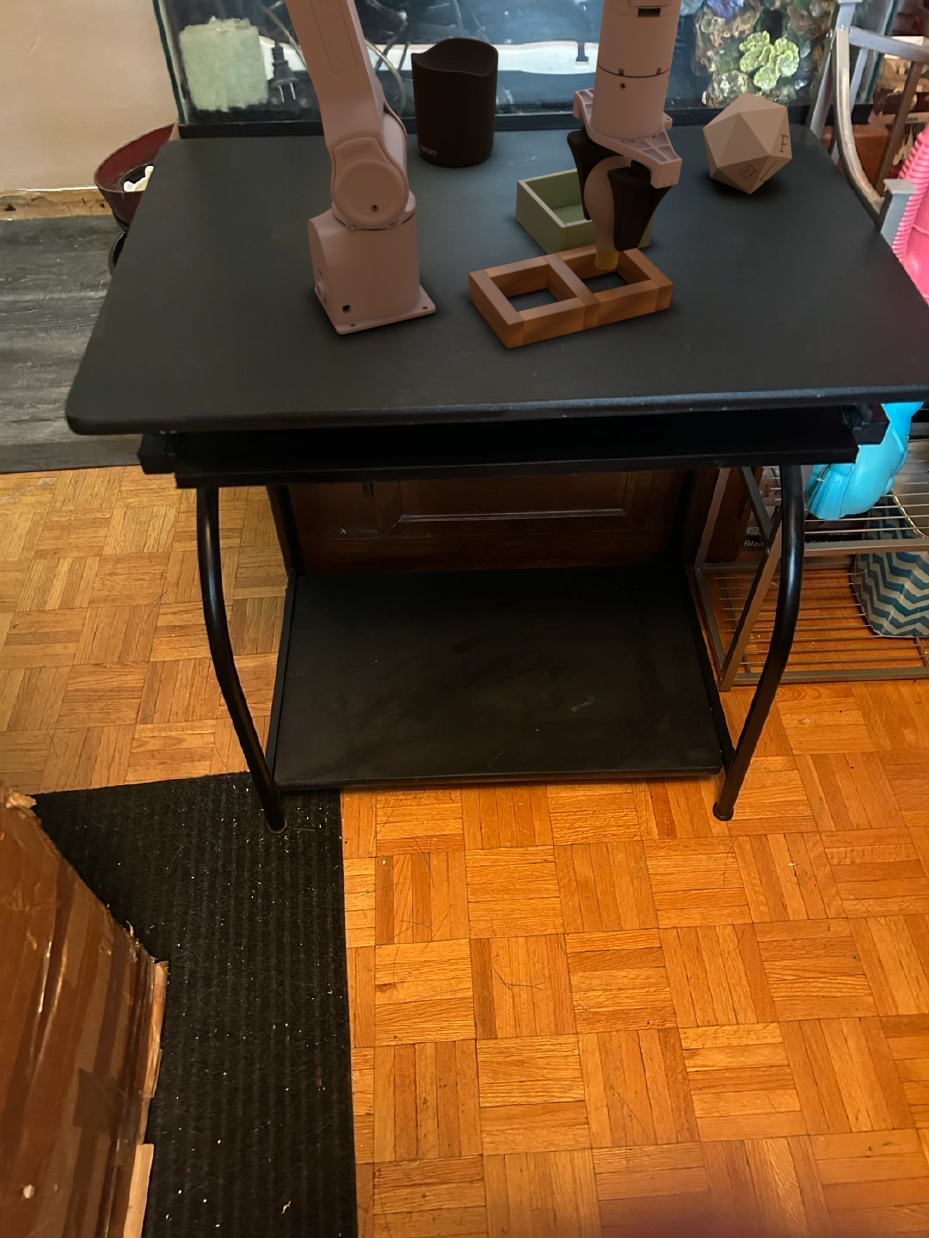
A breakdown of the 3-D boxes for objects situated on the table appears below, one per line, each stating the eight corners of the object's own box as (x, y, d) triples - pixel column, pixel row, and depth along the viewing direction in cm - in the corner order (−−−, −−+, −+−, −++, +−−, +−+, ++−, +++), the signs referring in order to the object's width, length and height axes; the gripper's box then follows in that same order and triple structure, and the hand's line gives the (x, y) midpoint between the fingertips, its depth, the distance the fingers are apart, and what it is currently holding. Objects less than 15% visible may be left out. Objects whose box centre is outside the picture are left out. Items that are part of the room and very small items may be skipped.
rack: (507, 349, 78) (508, 324, 76) (468, 297, 83) (468, 272, 81) (669, 308, 82) (673, 284, 80) (622, 261, 87) (625, 236, 85)
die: (710, 211, 94) (789, 140, 87) (671, 140, 95) (746, 64, 88) (747, 213, 100) (825, 147, 93) (710, 146, 101) (784, 75, 93)
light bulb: (647, 274, 81) (666, 163, 73) (601, 292, 79) (616, 180, 71) (609, 248, 84) (623, 138, 76) (564, 266, 82) (574, 155, 74)
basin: (558, 267, 86) (561, 228, 83) (515, 219, 92) (516, 180, 89) (649, 246, 89) (655, 207, 86) (601, 200, 95) (606, 162, 91)
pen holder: (412, 135, 104) (407, 39, 97) (490, 131, 105) (492, 35, 97) (418, 172, 99) (414, 74, 91) (501, 167, 99) (504, 69, 91)
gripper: (729, 91, 65) (692, 263, 75) (633, 24, 73) (611, 188, 84) (645, 106, 63) (619, 280, 74) (556, 36, 71) (544, 202, 82)
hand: (610, 232), depth 79 cm, fingers closed on light bulb, 5 cm apart
